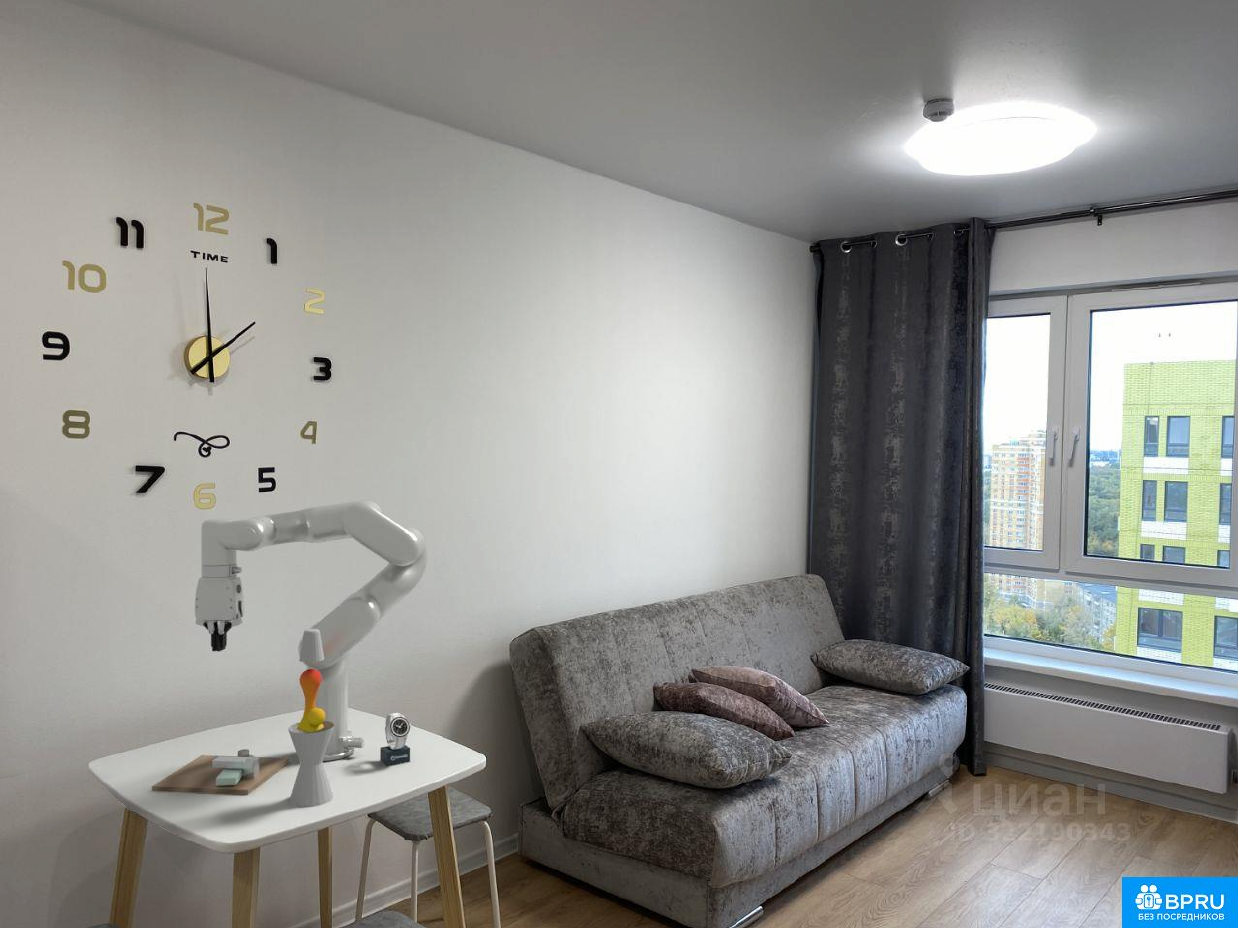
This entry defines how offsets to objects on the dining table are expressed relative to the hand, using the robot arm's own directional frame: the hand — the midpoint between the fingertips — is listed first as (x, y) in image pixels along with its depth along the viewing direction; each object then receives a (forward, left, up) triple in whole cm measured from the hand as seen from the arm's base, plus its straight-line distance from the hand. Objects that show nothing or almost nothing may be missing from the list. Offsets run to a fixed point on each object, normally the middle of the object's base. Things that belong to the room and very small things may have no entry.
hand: (218, 649), depth 215 cm
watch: (-42, -1, -25) cm, 49 cm away
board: (-7, +12, -25) cm, 29 cm away
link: (-11, +13, -24) cm, 29 cm away
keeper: (-11, +15, -25) cm, 31 cm away
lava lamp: (-32, +23, -25) cm, 47 cm away
